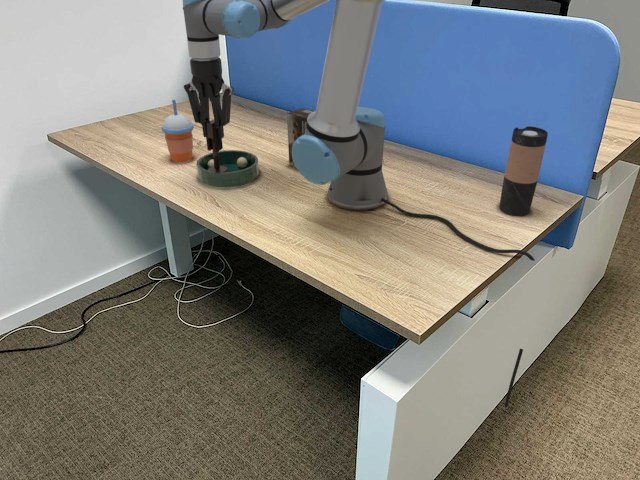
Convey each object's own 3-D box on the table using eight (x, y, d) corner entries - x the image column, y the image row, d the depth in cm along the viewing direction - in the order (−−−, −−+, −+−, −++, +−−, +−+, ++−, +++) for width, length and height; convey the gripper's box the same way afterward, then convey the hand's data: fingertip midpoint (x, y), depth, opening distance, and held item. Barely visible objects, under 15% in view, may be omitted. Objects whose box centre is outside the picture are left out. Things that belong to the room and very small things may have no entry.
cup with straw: (190, 166, 152) (181, 105, 143) (161, 164, 154) (151, 103, 145) (202, 155, 160) (195, 96, 151) (174, 153, 162) (166, 94, 152)
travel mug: (526, 219, 125) (544, 139, 115) (494, 211, 128) (509, 133, 118) (533, 206, 130) (551, 129, 120) (502, 199, 134) (517, 123, 124)
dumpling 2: (249, 167, 151) (249, 157, 149) (242, 170, 149) (241, 160, 147) (242, 164, 152) (241, 154, 151) (235, 167, 150) (234, 157, 149)
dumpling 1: (221, 169, 149) (220, 159, 148) (213, 172, 147) (212, 162, 146) (214, 166, 151) (213, 157, 149) (206, 169, 149) (204, 160, 147)
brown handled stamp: (231, 174, 145) (225, 119, 137) (222, 181, 141) (216, 125, 133) (214, 171, 146) (208, 117, 138) (205, 179, 142) (198, 123, 134)
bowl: (271, 174, 148) (270, 159, 145) (227, 194, 136) (225, 178, 134) (230, 160, 157) (229, 145, 154) (185, 178, 146) (183, 162, 143)
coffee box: (325, 168, 151) (326, 113, 143) (310, 175, 147) (309, 119, 139) (303, 160, 157) (302, 107, 148) (287, 166, 153) (286, 112, 144)
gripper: (239, 56, 128) (246, 147, 140) (187, 52, 132) (198, 141, 144) (224, 63, 122) (233, 157, 134) (170, 58, 126) (183, 150, 138)
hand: (215, 149), depth 139 cm, fingers closed on brown handled stamp, 2 cm apart
